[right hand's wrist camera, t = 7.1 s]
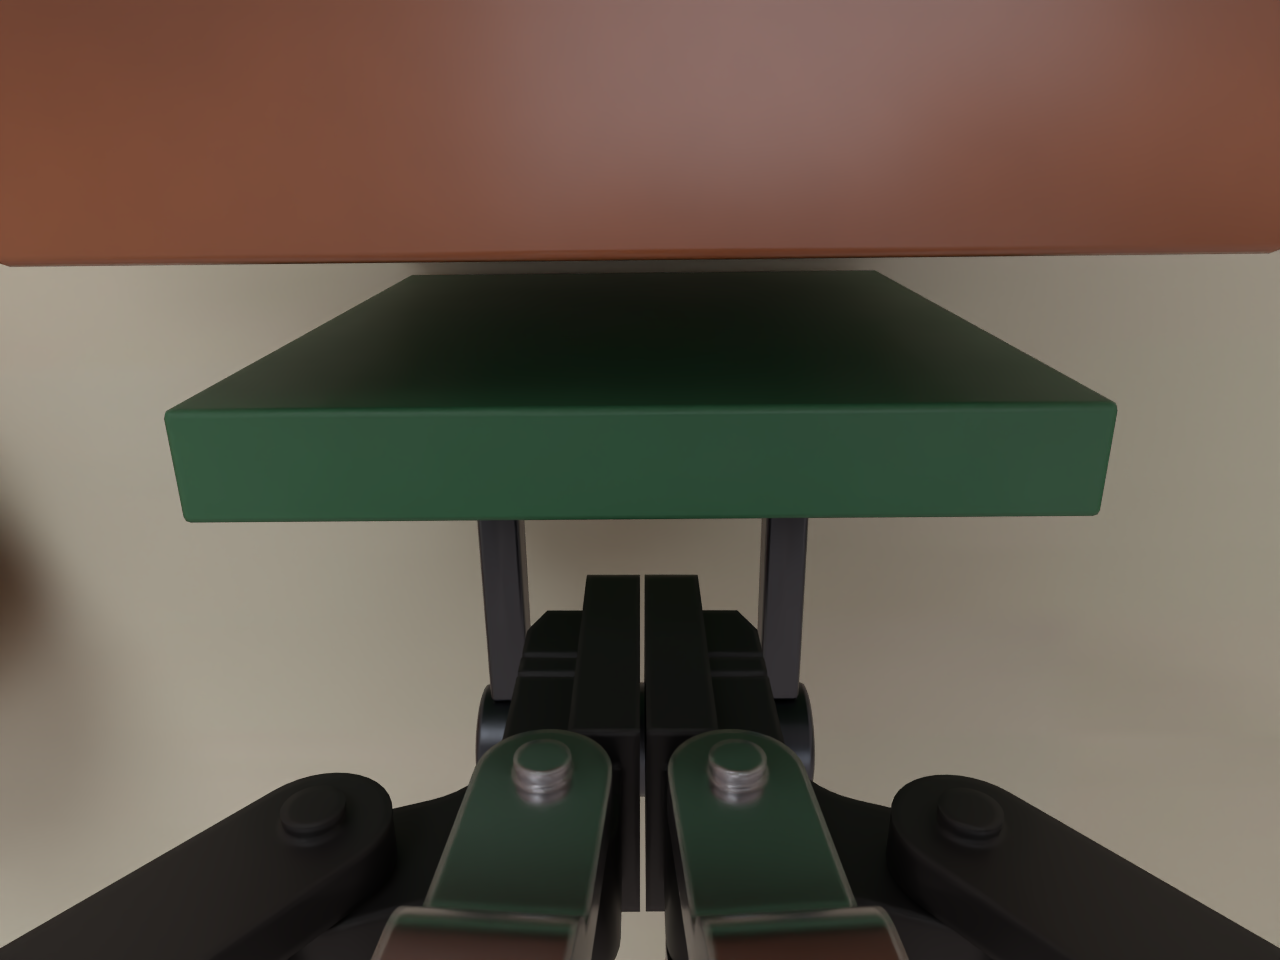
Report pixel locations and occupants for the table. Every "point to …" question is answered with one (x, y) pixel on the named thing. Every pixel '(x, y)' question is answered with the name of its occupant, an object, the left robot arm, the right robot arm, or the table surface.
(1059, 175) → the cabinet
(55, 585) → the table surface
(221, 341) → the table surface
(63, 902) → the table surface
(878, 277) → the drawer
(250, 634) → the table surface
